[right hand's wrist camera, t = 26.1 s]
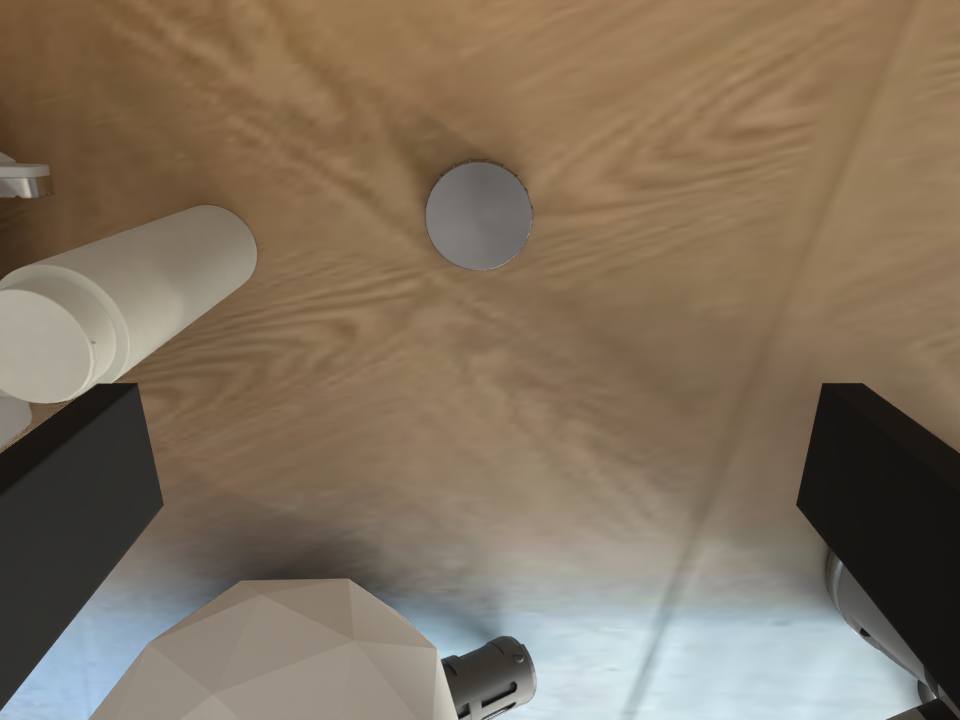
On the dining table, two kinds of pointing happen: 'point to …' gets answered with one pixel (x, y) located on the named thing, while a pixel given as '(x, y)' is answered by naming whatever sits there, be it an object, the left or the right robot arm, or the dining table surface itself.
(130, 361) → the jar
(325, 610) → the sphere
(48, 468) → the right robot arm
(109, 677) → the dining table surface
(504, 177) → the lid
